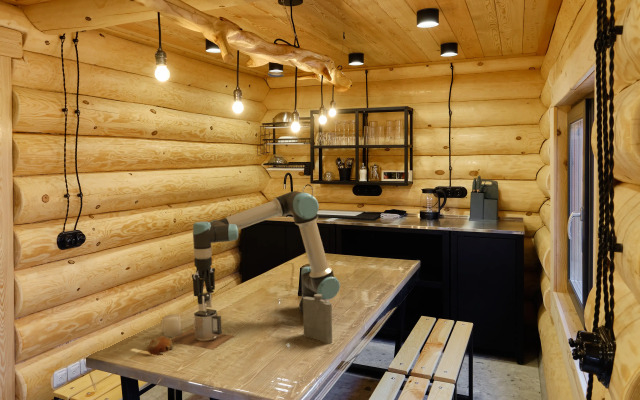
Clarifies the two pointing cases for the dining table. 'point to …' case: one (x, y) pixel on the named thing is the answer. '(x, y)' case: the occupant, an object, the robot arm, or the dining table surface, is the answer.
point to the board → (190, 339)
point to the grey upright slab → (317, 318)
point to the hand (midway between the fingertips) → (205, 308)
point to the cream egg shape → (171, 325)
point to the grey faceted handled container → (207, 325)
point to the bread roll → (160, 345)
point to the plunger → (206, 298)
